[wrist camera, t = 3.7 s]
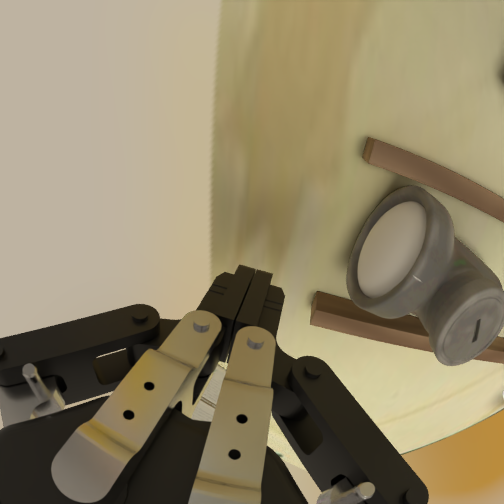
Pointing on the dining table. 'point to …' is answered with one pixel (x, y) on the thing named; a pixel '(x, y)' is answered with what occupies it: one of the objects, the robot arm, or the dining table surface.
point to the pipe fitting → (425, 276)
